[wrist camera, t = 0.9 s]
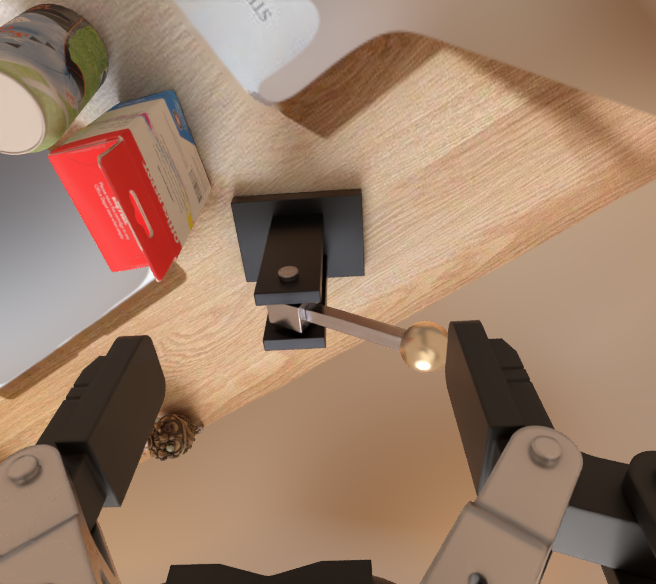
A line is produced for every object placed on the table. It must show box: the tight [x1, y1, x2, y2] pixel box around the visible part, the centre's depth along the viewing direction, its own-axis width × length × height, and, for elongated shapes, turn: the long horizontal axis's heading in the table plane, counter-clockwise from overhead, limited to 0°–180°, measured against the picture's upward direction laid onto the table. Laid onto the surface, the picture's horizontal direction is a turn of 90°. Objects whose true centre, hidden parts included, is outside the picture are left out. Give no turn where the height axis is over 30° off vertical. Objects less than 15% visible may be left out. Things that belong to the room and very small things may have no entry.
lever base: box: [231, 189, 365, 351], centre depth 38 cm, size 11×8×13 cm
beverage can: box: [0, 4, 109, 155], centre depth 31 cm, size 6×7×12 cm
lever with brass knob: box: [267, 302, 448, 373], centre depth 32 cm, size 13×3×3 cm, turn 94°
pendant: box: [145, 414, 203, 461], centre depth 56 cm, size 5×8×5 cm
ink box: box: [48, 90, 211, 282], centre depth 33 cm, size 8×5×15 cm, turn 12°
